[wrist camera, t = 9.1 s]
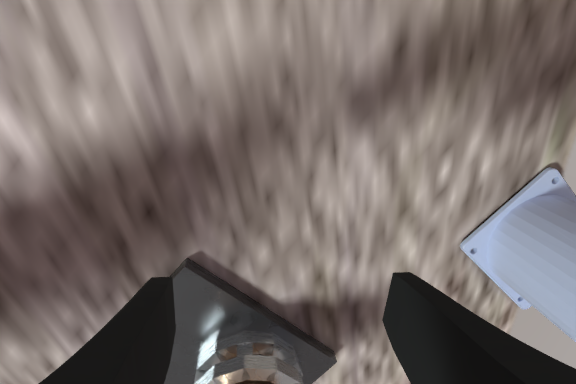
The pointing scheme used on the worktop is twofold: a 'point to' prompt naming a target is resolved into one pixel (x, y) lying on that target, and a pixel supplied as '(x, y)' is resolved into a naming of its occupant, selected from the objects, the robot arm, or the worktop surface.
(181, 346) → the collar stand
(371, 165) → the worktop surface
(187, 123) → the worktop surface
